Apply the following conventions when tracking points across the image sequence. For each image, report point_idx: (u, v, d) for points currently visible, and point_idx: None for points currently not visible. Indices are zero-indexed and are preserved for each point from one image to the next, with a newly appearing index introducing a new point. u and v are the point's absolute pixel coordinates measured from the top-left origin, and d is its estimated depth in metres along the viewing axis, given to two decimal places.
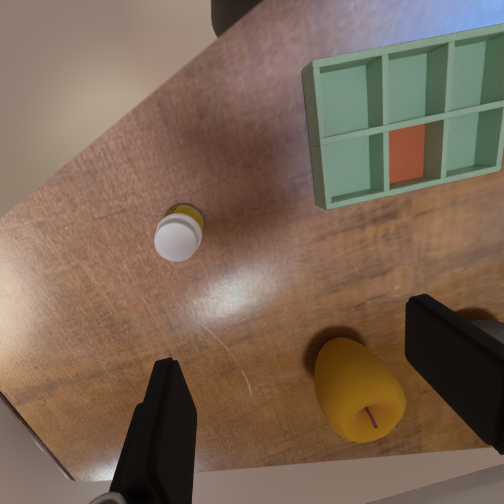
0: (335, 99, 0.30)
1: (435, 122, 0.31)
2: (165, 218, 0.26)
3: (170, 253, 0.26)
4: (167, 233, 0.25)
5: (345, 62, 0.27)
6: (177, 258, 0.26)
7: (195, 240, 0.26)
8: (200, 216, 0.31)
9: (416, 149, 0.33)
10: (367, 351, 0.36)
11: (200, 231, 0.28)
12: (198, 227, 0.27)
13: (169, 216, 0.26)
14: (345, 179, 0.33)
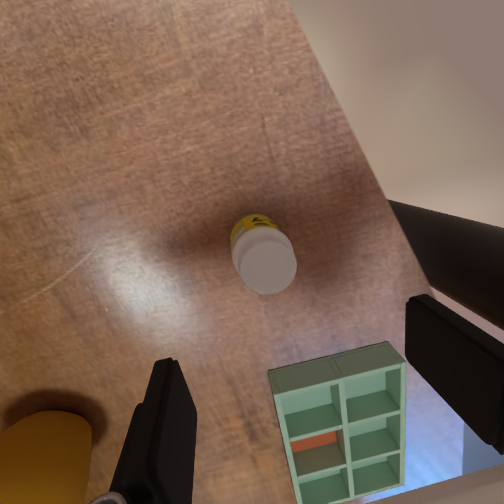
0: None
1: (340, 453, 0.35)
2: (289, 244, 0.20)
3: (253, 262, 0.18)
4: (283, 260, 0.18)
5: (399, 385, 0.31)
6: (245, 270, 0.18)
7: (270, 293, 0.19)
8: None
9: (316, 441, 0.36)
10: (86, 487, 0.26)
11: None
12: None
13: (292, 249, 0.20)
14: None
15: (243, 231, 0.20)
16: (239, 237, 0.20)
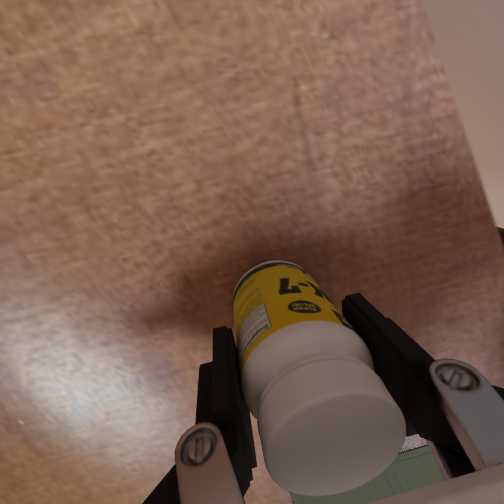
0: None
1: None
2: (369, 356, 0.09)
3: (300, 440, 0.07)
4: (375, 429, 0.07)
5: None
6: (279, 459, 0.07)
7: (335, 491, 0.08)
8: None
9: None
10: None
11: None
12: None
13: (373, 366, 0.09)
14: None
15: (265, 325, 0.09)
16: (257, 343, 0.09)
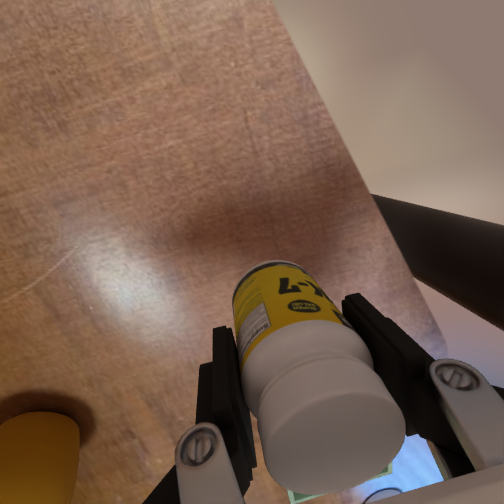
0: None
1: None
2: (369, 356, 0.09)
3: (300, 439, 0.07)
4: (375, 428, 0.07)
5: None
6: (279, 457, 0.07)
7: (334, 490, 0.08)
8: None
9: None
10: None
11: None
12: None
13: (373, 365, 0.09)
14: None
15: (265, 325, 0.09)
16: (257, 343, 0.09)
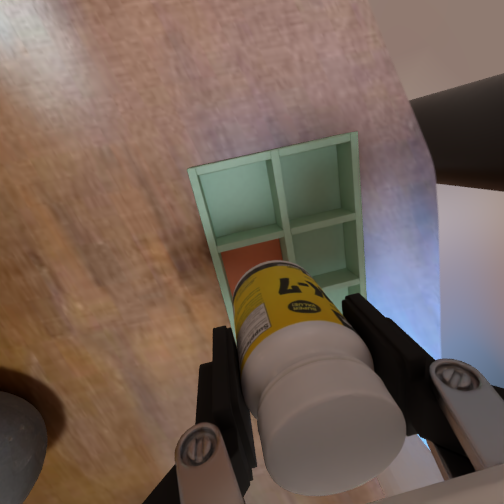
0: (312, 177, 0.27)
1: None
2: (369, 356, 0.09)
3: (301, 440, 0.07)
4: (375, 429, 0.07)
5: (351, 173, 0.24)
6: (279, 458, 0.07)
7: (335, 491, 0.08)
8: None
9: None
10: None
11: None
12: None
13: (373, 366, 0.09)
14: (225, 202, 0.27)
15: (265, 325, 0.09)
16: (257, 343, 0.09)
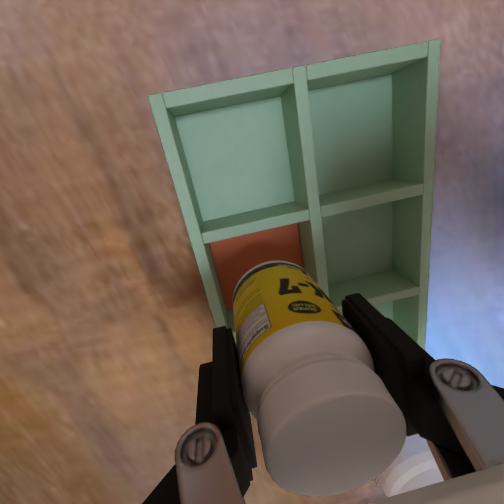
0: (352, 130, 0.17)
1: None
2: (369, 357, 0.09)
3: (301, 441, 0.07)
4: (376, 429, 0.07)
5: (423, 115, 0.15)
6: (279, 459, 0.07)
7: (335, 491, 0.08)
8: None
9: None
10: None
11: None
12: None
13: (373, 366, 0.09)
14: (217, 167, 0.17)
15: (265, 326, 0.09)
16: (257, 344, 0.09)
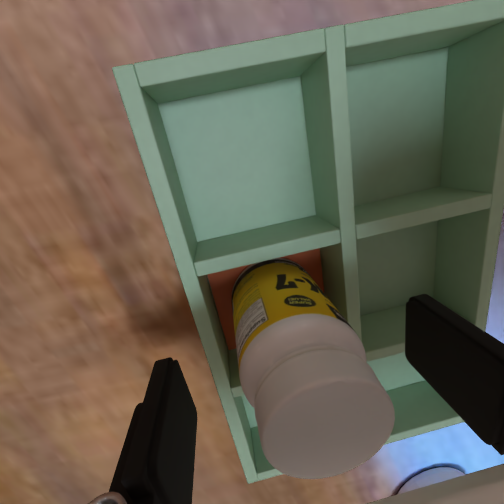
0: (393, 123, 0.13)
1: None
2: (362, 348, 0.09)
3: (295, 424, 0.07)
4: (366, 414, 0.07)
5: (500, 101, 0.11)
6: (275, 442, 0.07)
7: (328, 474, 0.08)
8: None
9: None
10: None
11: None
12: None
13: (365, 357, 0.09)
14: (216, 171, 0.13)
15: (262, 319, 0.10)
16: (255, 335, 0.09)
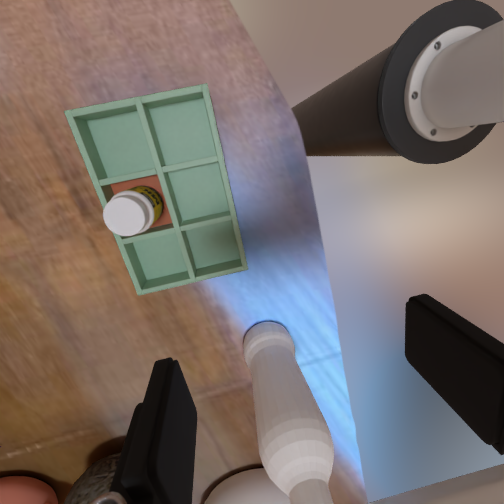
0: (187, 127, 0.32)
1: None
2: (147, 202, 0.28)
3: (111, 212, 0.26)
4: (133, 211, 0.26)
5: (209, 119, 0.30)
6: (107, 218, 0.26)
7: (128, 235, 0.27)
8: None
9: None
10: None
11: None
12: (141, 231, 0.29)
13: (150, 206, 0.28)
14: (112, 147, 0.32)
15: None
16: (112, 198, 0.28)
